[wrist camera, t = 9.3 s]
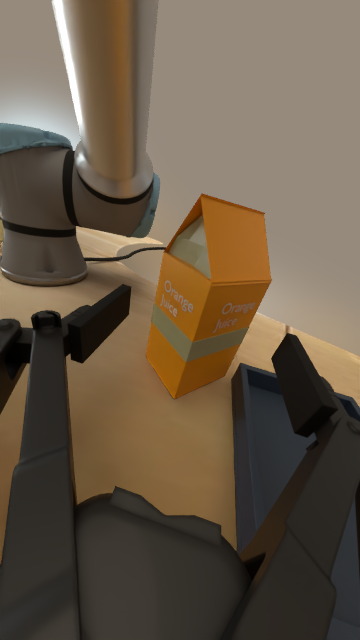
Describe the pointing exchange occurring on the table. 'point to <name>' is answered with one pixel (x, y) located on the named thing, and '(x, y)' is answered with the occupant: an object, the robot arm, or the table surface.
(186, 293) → the orange juice
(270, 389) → the tray
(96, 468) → the table surface
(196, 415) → the table surface
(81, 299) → the table surface
